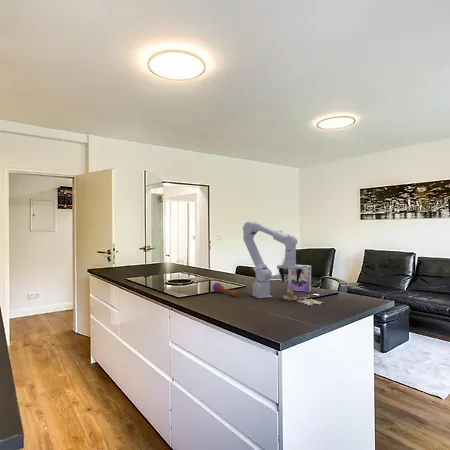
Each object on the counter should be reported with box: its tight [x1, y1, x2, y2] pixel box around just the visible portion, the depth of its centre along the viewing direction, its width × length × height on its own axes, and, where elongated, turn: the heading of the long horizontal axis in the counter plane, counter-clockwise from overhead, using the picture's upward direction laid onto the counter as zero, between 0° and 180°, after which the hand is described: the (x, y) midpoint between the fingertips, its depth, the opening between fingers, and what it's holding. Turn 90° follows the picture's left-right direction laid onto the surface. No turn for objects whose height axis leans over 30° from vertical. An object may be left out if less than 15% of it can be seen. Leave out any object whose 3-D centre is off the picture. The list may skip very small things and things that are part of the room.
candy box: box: [287, 264, 312, 293], centre depth 203 cm, size 14×6×16 cm, turn 62°
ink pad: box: [293, 294, 312, 300], centre depth 182 cm, size 8×6×2 cm
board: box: [296, 298, 324, 306], centre depth 171 cm, size 10×10×1 cm
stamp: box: [283, 286, 297, 302], centre depth 177 cm, size 5×5×7 cm
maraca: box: [212, 282, 240, 298], centre depth 190 cm, size 6×6×20 cm
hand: (290, 282), depth 177 cm, fingers open, 7 cm apart
